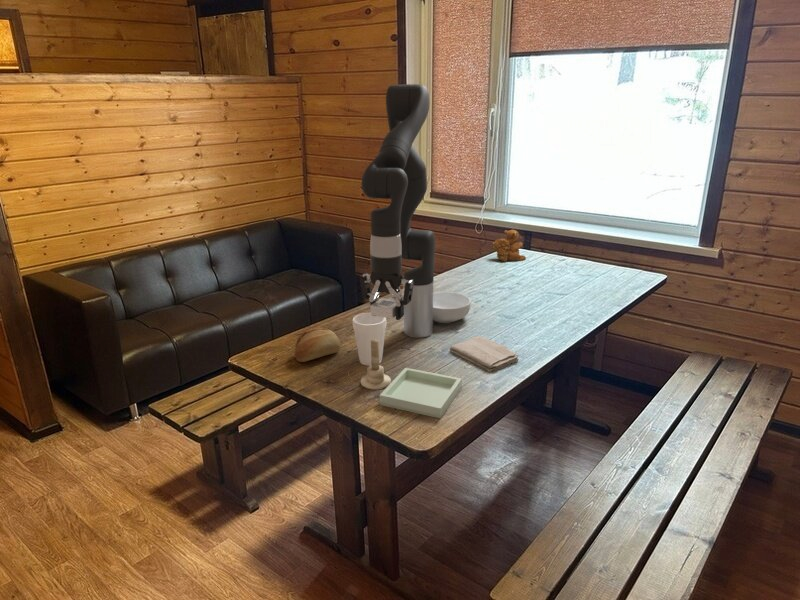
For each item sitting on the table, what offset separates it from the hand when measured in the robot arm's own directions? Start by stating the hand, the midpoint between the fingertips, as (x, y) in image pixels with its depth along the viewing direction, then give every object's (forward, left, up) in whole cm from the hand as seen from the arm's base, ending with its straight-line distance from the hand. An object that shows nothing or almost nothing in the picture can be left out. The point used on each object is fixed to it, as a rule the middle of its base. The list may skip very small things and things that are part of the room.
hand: (387, 316), depth 145 cm
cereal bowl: (-50, -2, -20) cm, 54 cm away
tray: (+1, +10, -20) cm, 22 cm away
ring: (0, 0, +1) cm, 1 cm away
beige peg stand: (-1, -4, -20) cm, 20 cm away
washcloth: (-28, +18, -21) cm, 39 cm away
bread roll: (-9, -27, -20) cm, 35 cm away
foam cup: (-12, -11, -20) cm, 26 cm away
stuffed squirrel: (-127, 0, -20) cm, 128 cm away
